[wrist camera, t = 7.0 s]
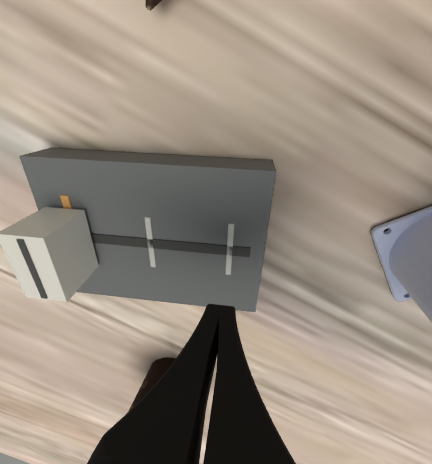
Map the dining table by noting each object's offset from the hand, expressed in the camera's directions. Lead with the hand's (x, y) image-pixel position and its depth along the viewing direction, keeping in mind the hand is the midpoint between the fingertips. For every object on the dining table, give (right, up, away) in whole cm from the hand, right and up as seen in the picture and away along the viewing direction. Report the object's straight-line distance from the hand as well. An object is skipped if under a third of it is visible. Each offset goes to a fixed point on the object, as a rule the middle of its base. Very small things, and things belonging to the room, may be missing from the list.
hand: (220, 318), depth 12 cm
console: (-5, +5, +9) cm, 11 cm away
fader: (-11, +4, +6) cm, 13 cm away
